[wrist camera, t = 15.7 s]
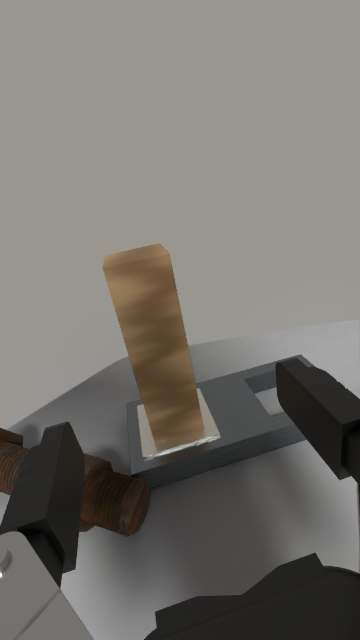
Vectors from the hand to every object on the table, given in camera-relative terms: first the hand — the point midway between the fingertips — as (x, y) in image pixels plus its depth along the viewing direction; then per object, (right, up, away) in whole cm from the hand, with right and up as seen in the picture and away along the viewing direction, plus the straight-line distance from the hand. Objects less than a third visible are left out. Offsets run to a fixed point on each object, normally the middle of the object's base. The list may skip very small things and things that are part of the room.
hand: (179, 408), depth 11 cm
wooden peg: (0, -5, +14) cm, 15 cm away
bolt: (-9, -11, +11) cm, 18 cm away
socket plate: (+5, -6, +15) cm, 17 cm away
